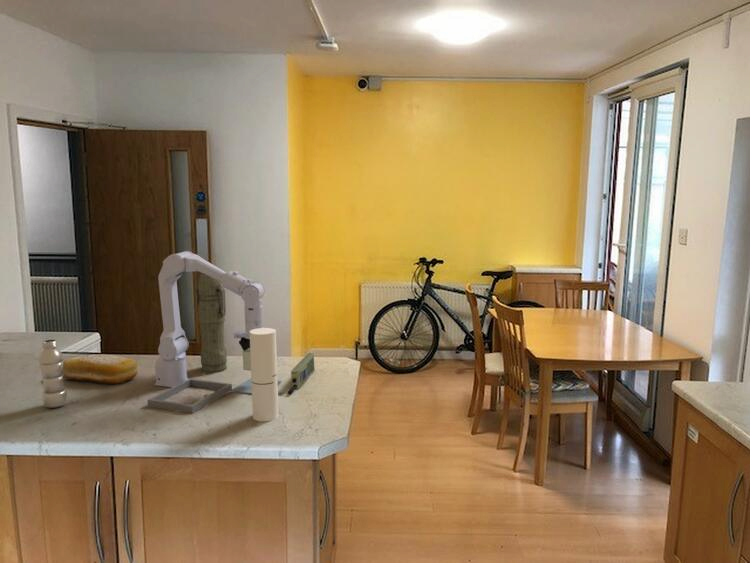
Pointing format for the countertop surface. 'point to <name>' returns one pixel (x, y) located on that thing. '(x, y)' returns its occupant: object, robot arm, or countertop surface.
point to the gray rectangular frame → (158, 403)
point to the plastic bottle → (52, 375)
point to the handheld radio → (302, 372)
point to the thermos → (211, 324)
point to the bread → (100, 369)
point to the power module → (247, 360)
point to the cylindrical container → (264, 374)
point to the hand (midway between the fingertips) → (255, 361)
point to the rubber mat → (246, 387)
